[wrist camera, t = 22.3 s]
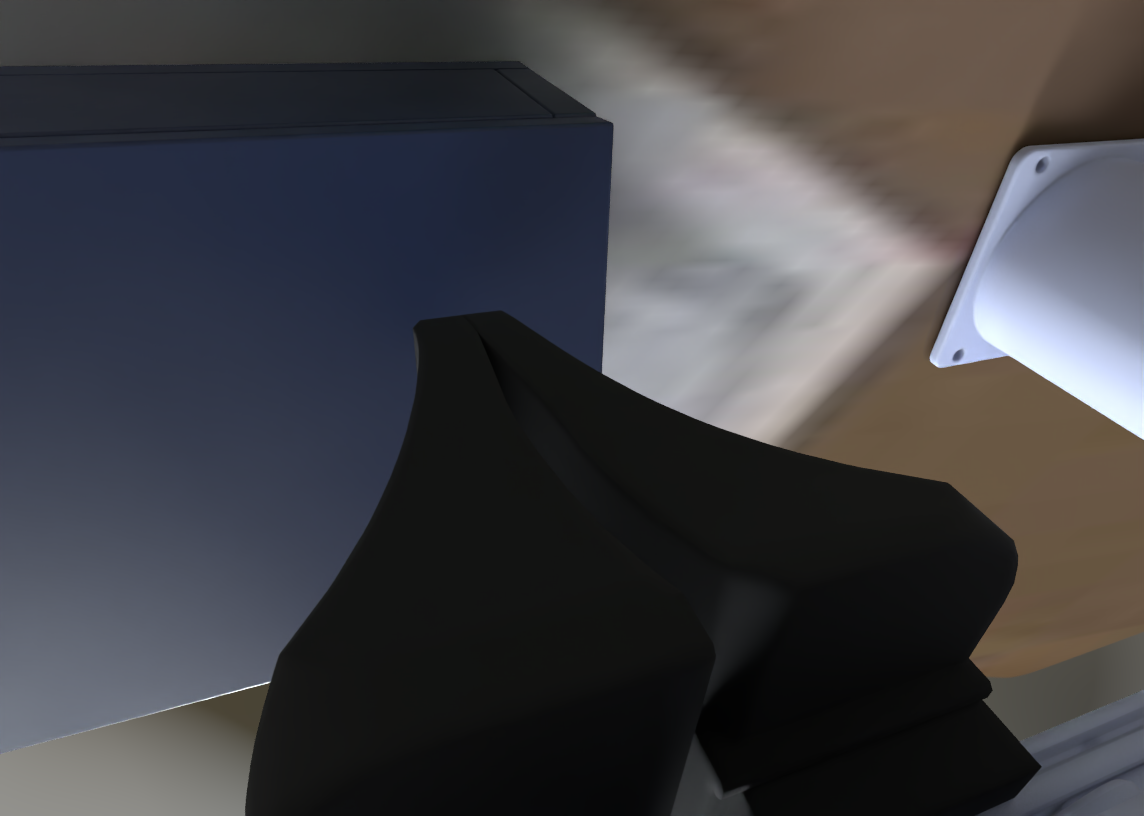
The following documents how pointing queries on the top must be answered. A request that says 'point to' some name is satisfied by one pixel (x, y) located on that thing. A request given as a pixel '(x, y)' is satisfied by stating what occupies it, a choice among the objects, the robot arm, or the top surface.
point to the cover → (241, 376)
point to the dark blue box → (269, 96)
